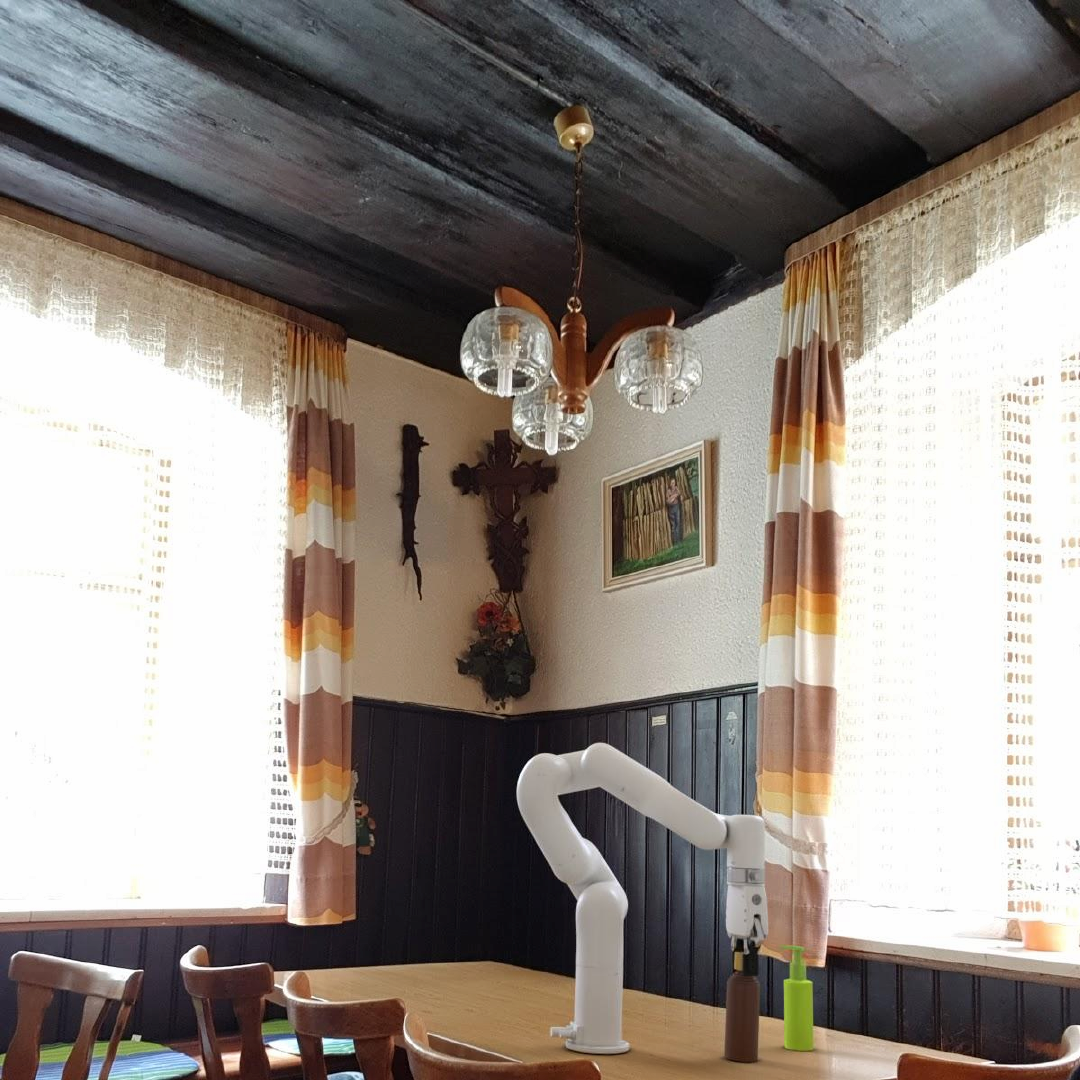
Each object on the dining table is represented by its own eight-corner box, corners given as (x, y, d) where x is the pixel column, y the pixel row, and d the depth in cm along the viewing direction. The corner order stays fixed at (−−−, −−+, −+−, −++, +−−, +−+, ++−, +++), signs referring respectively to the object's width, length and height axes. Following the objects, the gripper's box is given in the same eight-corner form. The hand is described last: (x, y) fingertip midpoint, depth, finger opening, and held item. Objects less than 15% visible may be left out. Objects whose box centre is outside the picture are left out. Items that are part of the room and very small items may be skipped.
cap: (757, 971, 231) (758, 954, 232) (739, 970, 230) (740, 954, 231) (748, 968, 235) (748, 952, 235) (730, 968, 234) (731, 951, 234)
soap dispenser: (788, 1043, 248) (787, 943, 252) (818, 1048, 243) (816, 946, 248) (774, 1047, 243) (773, 945, 248) (805, 1052, 239) (803, 948, 244)
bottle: (731, 1061, 225) (735, 957, 229) (719, 1054, 231) (723, 952, 235) (762, 1062, 226) (766, 958, 231) (749, 1055, 232) (753, 954, 237)
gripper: (782, 880, 230) (782, 980, 225) (743, 876, 245) (742, 968, 241) (748, 879, 228) (747, 979, 223) (710, 874, 243) (709, 968, 239)
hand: (744, 973), depth 232 cm, fingers closed on cap, 3 cm apart
